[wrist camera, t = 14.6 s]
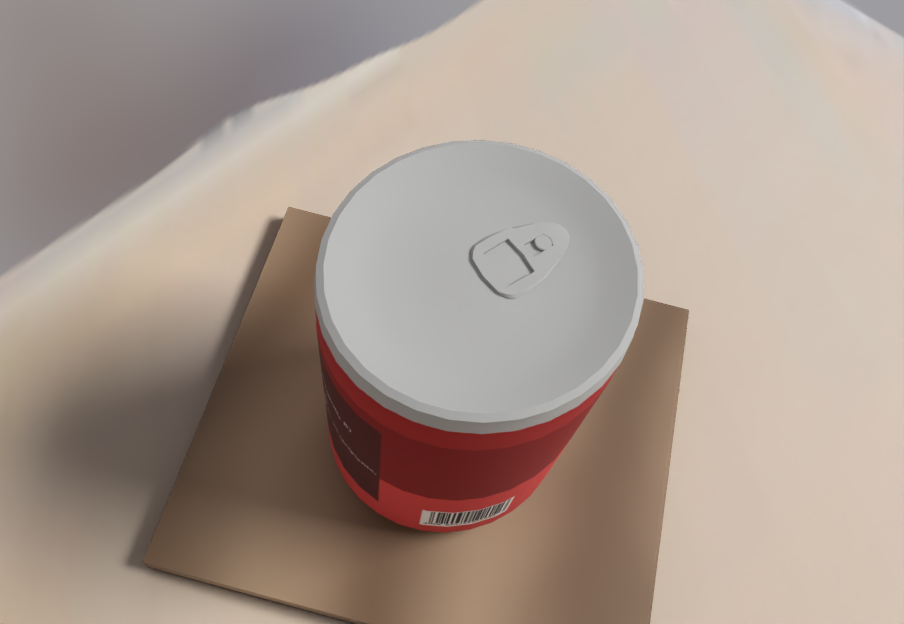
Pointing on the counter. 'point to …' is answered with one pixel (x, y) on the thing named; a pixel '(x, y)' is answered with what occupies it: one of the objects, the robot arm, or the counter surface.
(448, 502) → the canned food
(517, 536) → the walnut board
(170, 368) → the counter surface
